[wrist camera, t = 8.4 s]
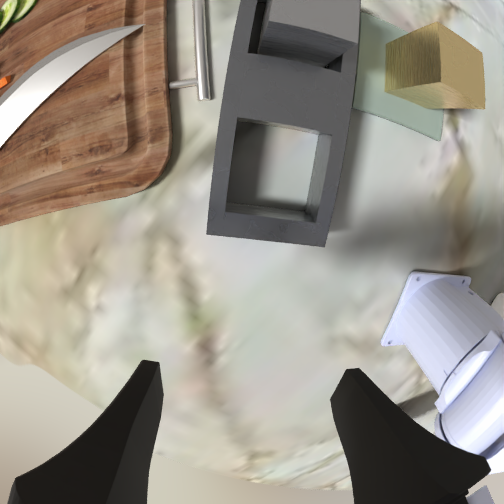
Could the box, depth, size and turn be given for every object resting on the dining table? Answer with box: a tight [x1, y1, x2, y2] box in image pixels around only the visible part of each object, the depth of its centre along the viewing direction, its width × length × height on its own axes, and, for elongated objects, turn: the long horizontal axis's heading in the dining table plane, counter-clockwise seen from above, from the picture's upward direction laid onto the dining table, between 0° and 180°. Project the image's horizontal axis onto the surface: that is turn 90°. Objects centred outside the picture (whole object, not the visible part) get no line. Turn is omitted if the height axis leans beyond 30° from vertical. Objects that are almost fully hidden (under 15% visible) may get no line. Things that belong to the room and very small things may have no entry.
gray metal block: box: [257, 0, 360, 68], centre depth 10 cm, size 4×4×6 cm
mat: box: [352, 12, 444, 141], centre depth 14 cm, size 8×8×1 cm
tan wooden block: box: [384, 22, 485, 109], centre depth 11 cm, size 4×4×6 cm
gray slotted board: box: [206, 0, 361, 247], centre depth 14 cm, size 7×17×2 cm, turn 172°
